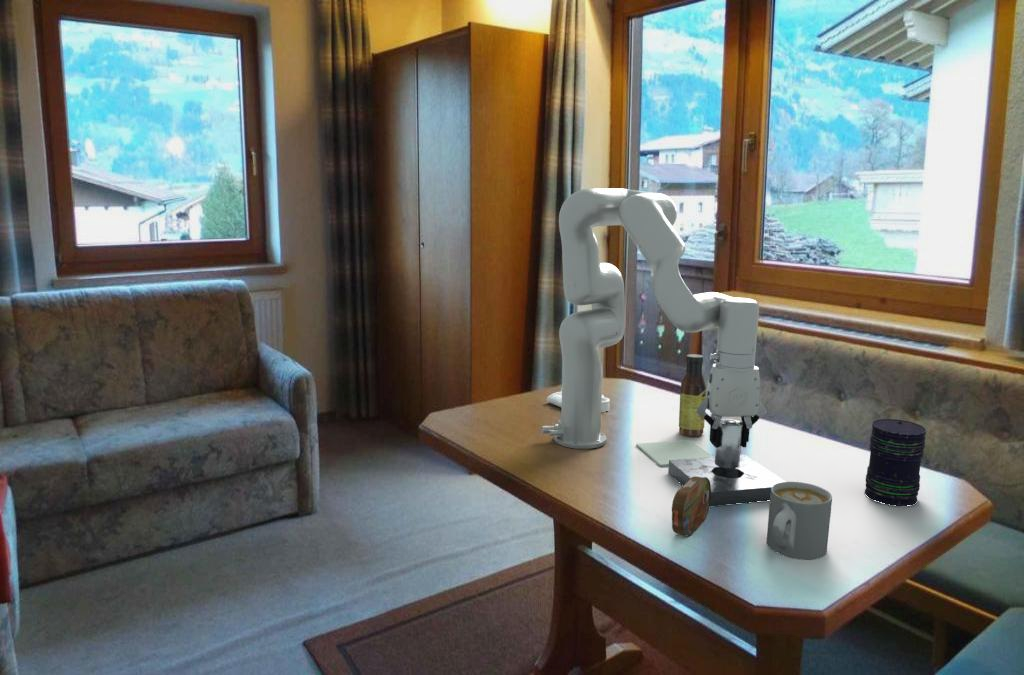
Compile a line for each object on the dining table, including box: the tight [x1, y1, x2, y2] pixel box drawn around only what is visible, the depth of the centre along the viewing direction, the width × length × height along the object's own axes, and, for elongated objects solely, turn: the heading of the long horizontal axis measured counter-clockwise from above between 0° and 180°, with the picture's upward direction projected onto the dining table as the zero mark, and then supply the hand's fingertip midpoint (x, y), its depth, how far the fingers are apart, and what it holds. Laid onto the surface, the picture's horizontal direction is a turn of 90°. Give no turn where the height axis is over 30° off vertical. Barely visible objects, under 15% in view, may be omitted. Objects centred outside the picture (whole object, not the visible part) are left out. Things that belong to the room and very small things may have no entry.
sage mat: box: [635, 439, 714, 468], centre depth 183 cm, size 14×14×1 cm
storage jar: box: [864, 418, 927, 507], centre depth 159 cm, size 10×10×15 cm
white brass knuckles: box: [546, 387, 611, 413], centre depth 221 cm, size 3×18×15 cm
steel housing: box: [667, 454, 786, 507], centre depth 164 cm, size 18×18×3 cm
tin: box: [671, 476, 711, 537], centre depth 145 cm, size 15×3×8 cm, turn 148°
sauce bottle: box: [678, 353, 707, 437], centre depth 196 cm, size 6×6×20 cm
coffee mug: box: [766, 481, 833, 561], centre depth 136 cm, size 13×10×10 cm
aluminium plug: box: [714, 418, 743, 469], centre depth 163 cm, size 5×5×9 cm
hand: (728, 444), depth 163 cm, fingers closed on aluminium plug, 5 cm apart
